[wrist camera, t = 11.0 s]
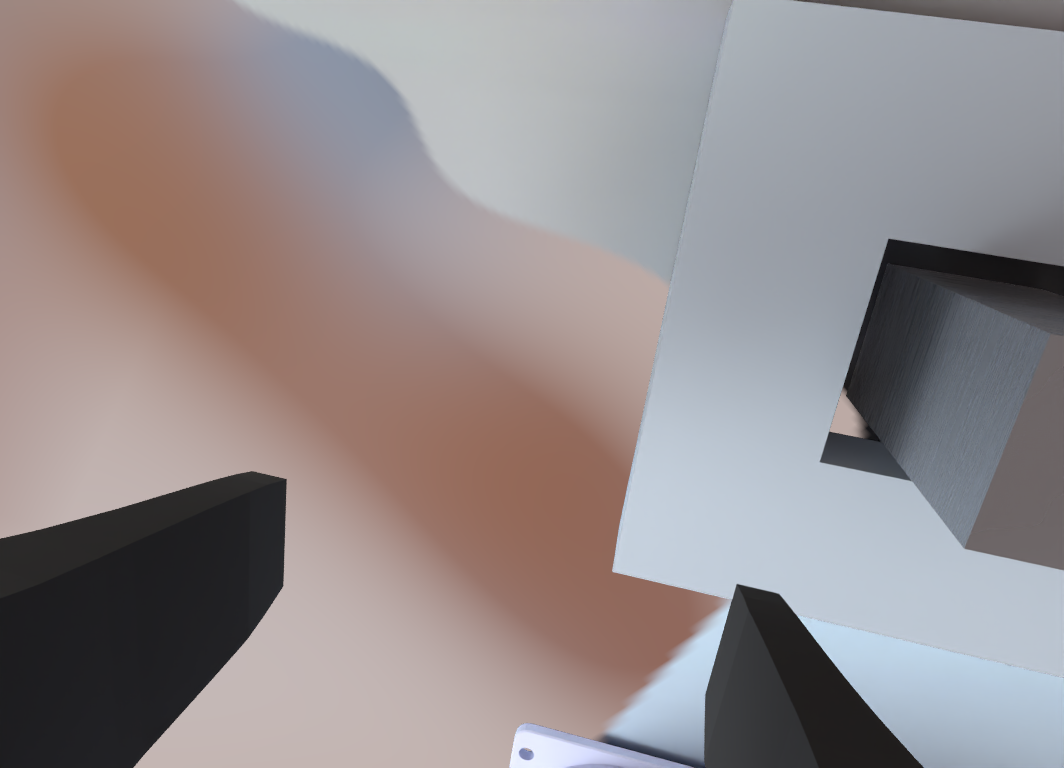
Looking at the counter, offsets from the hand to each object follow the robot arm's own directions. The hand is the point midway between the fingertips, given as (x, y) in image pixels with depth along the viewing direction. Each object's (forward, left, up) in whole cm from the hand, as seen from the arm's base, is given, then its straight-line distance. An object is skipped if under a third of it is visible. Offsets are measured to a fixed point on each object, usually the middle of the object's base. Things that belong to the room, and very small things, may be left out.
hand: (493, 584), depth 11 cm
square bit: (+3, -9, -10) cm, 14 cm away
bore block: (+3, -9, -10) cm, 14 cm away
